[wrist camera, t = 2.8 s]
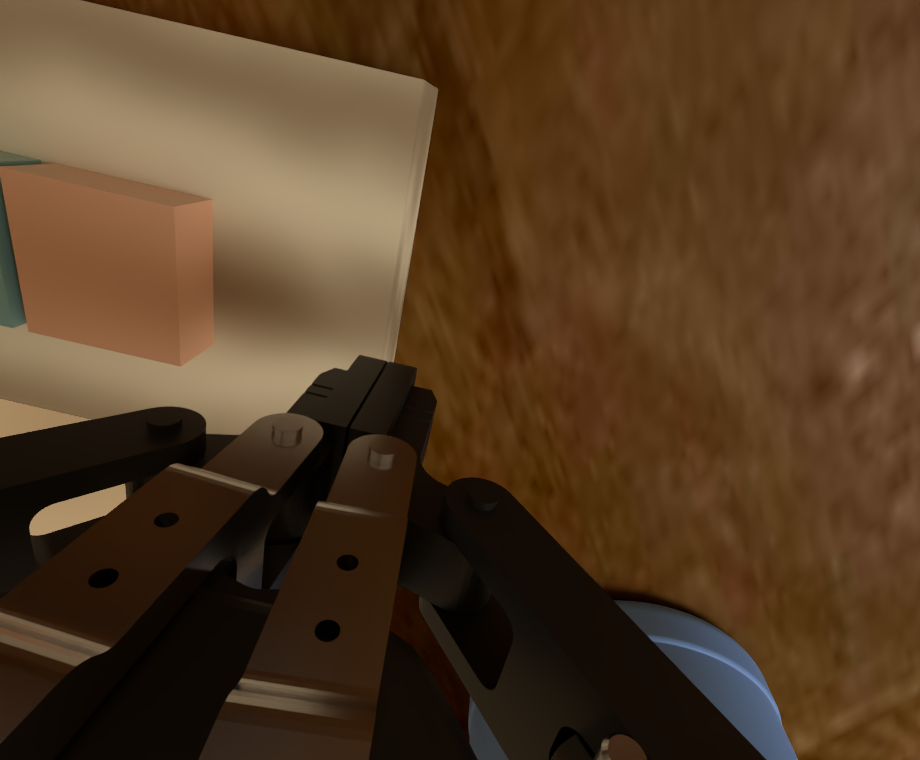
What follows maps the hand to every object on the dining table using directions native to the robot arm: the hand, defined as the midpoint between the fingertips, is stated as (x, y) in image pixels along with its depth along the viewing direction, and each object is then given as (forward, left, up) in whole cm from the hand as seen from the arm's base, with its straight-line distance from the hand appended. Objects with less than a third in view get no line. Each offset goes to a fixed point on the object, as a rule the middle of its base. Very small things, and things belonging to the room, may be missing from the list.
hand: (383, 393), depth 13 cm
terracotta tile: (0, -10, -5) cm, 10 cm away
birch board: (0, -10, -8) cm, 12 cm away
